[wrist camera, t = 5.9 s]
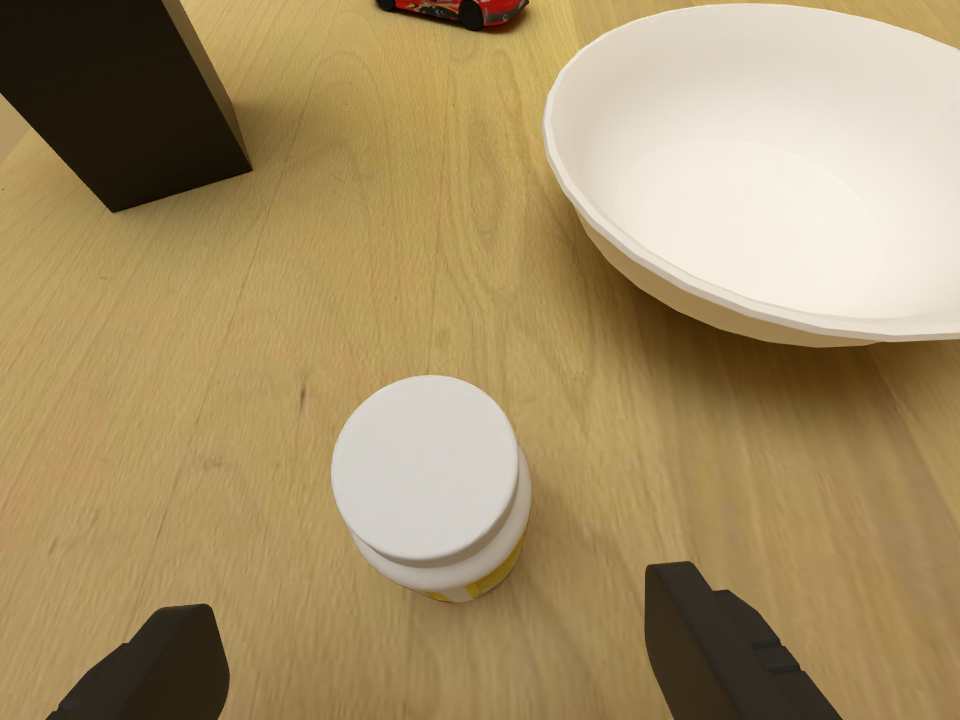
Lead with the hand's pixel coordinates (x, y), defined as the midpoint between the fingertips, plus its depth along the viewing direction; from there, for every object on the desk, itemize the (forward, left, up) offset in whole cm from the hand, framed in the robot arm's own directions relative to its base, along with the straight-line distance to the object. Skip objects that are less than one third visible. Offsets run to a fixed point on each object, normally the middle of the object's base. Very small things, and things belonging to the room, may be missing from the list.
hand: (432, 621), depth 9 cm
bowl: (+19, +10, -8) cm, 23 cm away
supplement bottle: (+1, +3, -8) cm, 9 cm away
